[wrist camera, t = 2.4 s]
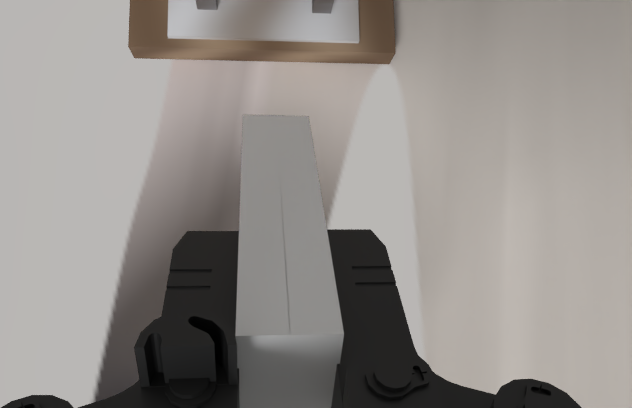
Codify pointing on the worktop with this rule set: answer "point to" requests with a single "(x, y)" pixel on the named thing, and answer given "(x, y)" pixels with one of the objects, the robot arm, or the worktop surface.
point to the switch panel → (264, 30)
